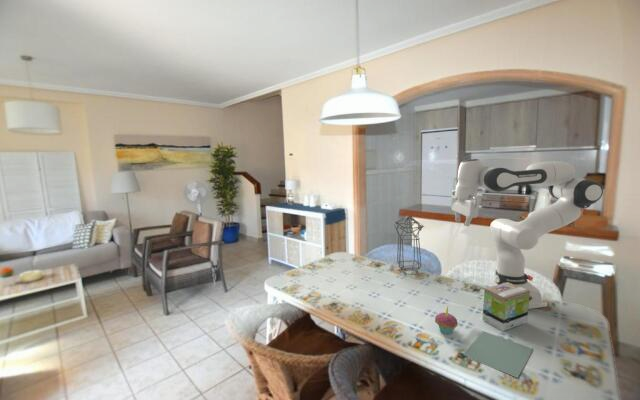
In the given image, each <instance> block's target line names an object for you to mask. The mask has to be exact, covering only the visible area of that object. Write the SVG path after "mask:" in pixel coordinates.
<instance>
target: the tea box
mask: <svg viewBox="0 0 640 400" xmlns="http://www.w3.org/2000/svg"><path fill="white" fill-rule="evenodd" d="M483 291H484V292H483V293H484V294H483V295H484V296H483V304H482V305H483V306H482V321H484V322H485V323H487V324H489V325H491V326H493V327H494V328H496V329H498V330H500V331H502V332H505V331H507V330H510V329H513V328H515V327H518V326H522V325H524V324H527V323H528V316H529V309H528V306H529V296H530V290H527V289H524V288H522V287H519V286H517V285H514V284H512V283H509V282H506V283H503V284H499V285H496V286H495V285H493V286H489V287H486V288H484V290H483Z"/></svg>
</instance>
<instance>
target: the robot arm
mask: <svg viewBox="0 0 640 400" xmlns="http://www.w3.org/2000/svg"><path fill="white" fill-rule="evenodd" d="M526 185H527V186H528V185H529V186H531V187H547V188H548V193H549V195H550V196H551V197H552V198H555V200H556V199H557V200H556V201H555V202H554V203H551V204H547V205H546V206H542V207H540V208H538V209H535V210H534V211H531V212H529V213H528V214H527V217H526V218H525V219H523V220H520V221H514V220H511V219H508V218H496V219H494V220H492V222H491V223H490V226H489V231H490V234H491V235H492V238H493V241H494V246H495V251H496V269H495V274H494V281H495V282H494V283H495V284H494V286H496V285H499V284H503V283H506V282H509V283H512V284H514V285H517V286H519V287H522V288H524V289H527V290H530V296H529V306H528V310H531V309H538V308H546V307H548V302H547V301H546V300H545V299H544V298H543V297H542V293H541V291H540V289H538V288H537V287H536V286H535V285H533V284H532V283H530V282H529V281H533V280H534V277H533V276H531V275H529V274H527V273H525V264H526V263H525V262H526V261H525V260H526V258H525V256H524V254H523V252H522V250H526V251H527V250H531V249H533V248H535V247H536V246H537V244H538V243H539V239H540V238H541V237H543V236H544V235H546V234H549V233H551V232H553V231H555V230H558V229H560V228H563V227H565V226H568V225H570V224H571V223H573V222H575V221H577V220H578V219H580V217H581V215H582V210H581V209H586V208H590V206H591V205H593V204H596V203H597V202H598V201H600V199H601V198H602V197H603V195H604V188H603V185H602V184H601V183H599V182H598V181H596V180H592V179H586V178H578V177H576V169H575V166H574V165H573V164H571V163H569V162H565V161H541V162H540V161H539V162H535V163H531V164H529V165H528V166H527V167H526V169H523V170H521V169H520V170H510V169H508V168H504V167H491V166H488V165H487V164H485V163H483V162H482V161H480V159H477V158H470V159H464V160H462V161H461V162H460V164H459V166H458V172H457V183H456V186H455V189H454V190H452V191H451V201H450V202H451V203H450V207H451V208H450V209H451V211H453V212H454V215H455V221H456V223H458V222H459V223H460V222H461V220H462V219H461V215H462V216H464V217H465V221H463V222H464V223H463V225H464V227H470V225H471V222H472V220H473V219H477V218H478V216H479V209H480V208H479V206H480V205H479V201H478V200H477V195H478V188H479V187H480V188H481V189H482V188H483V189H487V190H491V191H494V192H497V193H498V192H504V191H506V190H509V189H511V188H513V187H518V186H526Z"/></svg>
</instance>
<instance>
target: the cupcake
mask: <svg viewBox="0 0 640 400" xmlns="http://www.w3.org/2000/svg"><path fill="white" fill-rule="evenodd" d="M445 309H446V310H445V311H446V312H440V313H437V315H435V317H434V323H436V324H437V325H438V328H439V331H440V333H441V334H445V335H452V334H453V332H454V330H455V328H457V327H458V324H459V321H458V319H457V318H456V317H455V316H454V315H453V314H451V313H449V306H448V305H447V306H446V308H445Z"/></svg>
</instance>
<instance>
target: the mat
mask: <svg viewBox="0 0 640 400" xmlns="http://www.w3.org/2000/svg"><path fill="white" fill-rule="evenodd" d="M533 350H534V348H532V347H529V346H526V345H524V344H521V343H519V342H516V341H514V340H513V341H512V340H511V339H510V340H509V339H507V338H504V337H502V336H501V337H500V336H499V335H495V334H493V333H489V332H486V331H485V330H483V331H482V332H481V333H479V335H478V336H477V337H476V339H475V340H474V341H473V342H472V343H471V345H469V347H468V348H467V349H466V351H464V353H463V354H462V355H463V356H465V357H467V358H470V359H472V360H473V361H474V360H475V361H477V362H478V363H481V364H482V365H485V366H488V367H491V368H492V369H495V370H497V371H500V372H502V373H504V374H507V375H509V376H512V377H514V378H516V379H518V378H519V376H520V374H521V373H522V371H523V368H524V367H525V365H526V363H527V361H528V360H529V358H530V356H531V354H532V352H533Z"/></svg>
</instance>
